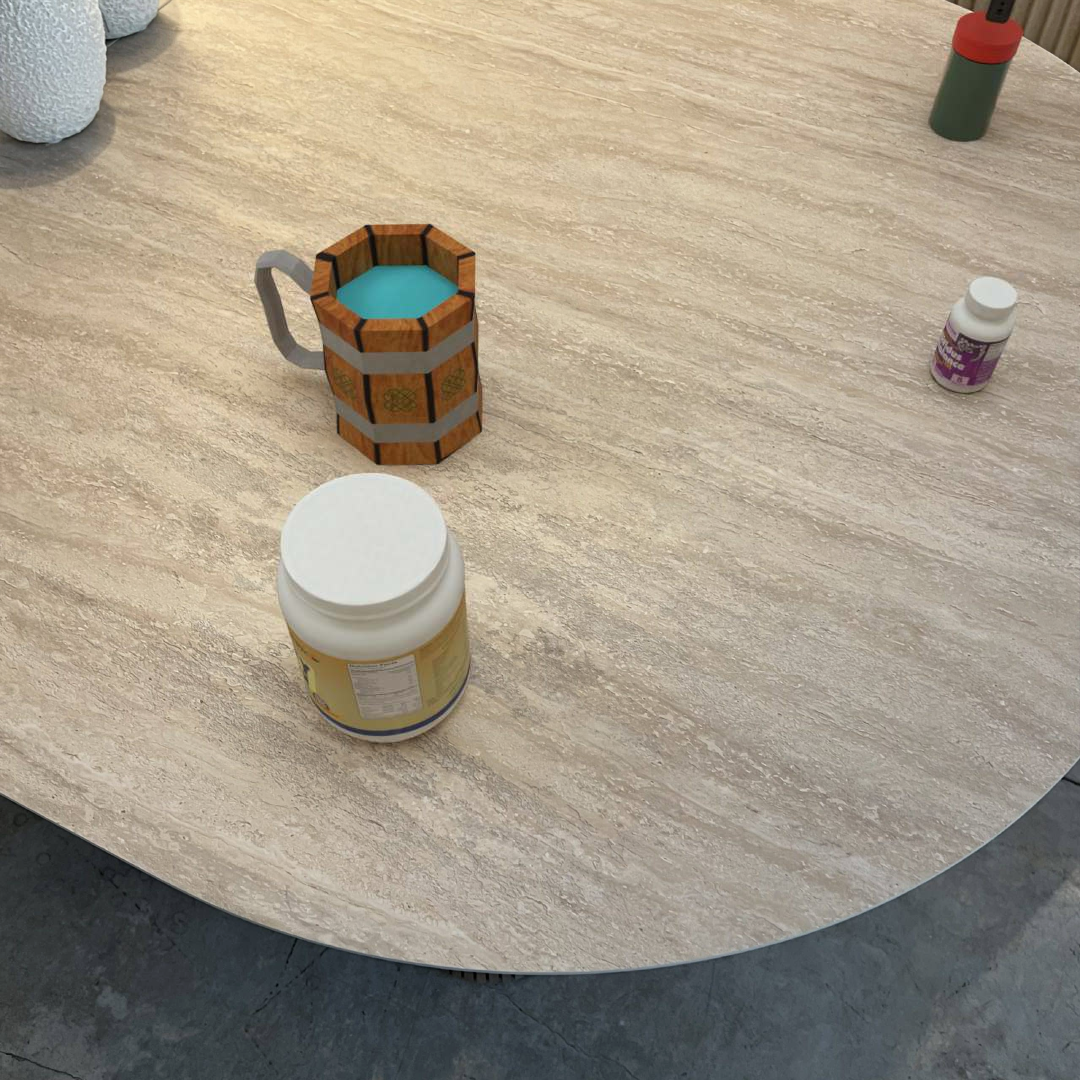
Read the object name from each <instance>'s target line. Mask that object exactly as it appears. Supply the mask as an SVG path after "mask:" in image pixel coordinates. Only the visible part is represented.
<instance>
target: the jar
mask: <svg viewBox="0 0 1080 1080" xmlns="http://www.w3.org/2000/svg"><path fill="white" fill-rule="evenodd" d="M1013 60H1014V57H1013V58H1012V59H1010V60H1008V61H1005V62H1001V63H982V62H977V61H973V60H970V59H968V58H966V57H964V56H962V55H960V54H959V53H958V52H957V51H956V50H955V49H954V48H953V46H952V45H950V49H949V51H948V56H947V59H946V62H945V66H944V68H943V71H942V74H941V78H940V82H939V84H938V87H937V91H936V93H935V98H934V101H933V104H932V107H931V110H930V114H929V117H928V125H929V127H930V129H931V130H932V131H933V132H934V133H936V134H937V135H939V136H941V137H943V138H945V139H948V140H950V141H951V140H952V141H955V142H972V141H977V140H979V139H981V138H983V137H984V136H985V135H986V134H987V132H988V130H989V126H990V125H991V121H992V118H993V115H994V113H995V110H996V107H997V104H998V102H999V100H1000V96H1001V94H1002V91H1003V88H1004V85H1005V83H1006V79H1007V77H1008V74H1009V71H1010V69H1011V65H1012V63H1013Z"/></svg>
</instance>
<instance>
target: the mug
mask: <svg viewBox="0 0 1080 1080" xmlns="http://www.w3.org/2000/svg"><path fill="white" fill-rule="evenodd" d="M313 266H314V267H313V269H312V268H311V267H310V266H309V265H308V264H307V263H306V262H305V261H304V260H302V258H300V257H299V256H296V255H295V254H293V253H291V252H290V251H288V250H286V249H284V248H281V249H275V250H268V251H264V252H263V253H262V254H260V255H259V257H258V258H257V261H256V263H255V270H254V279H253V282H254V285H255V288H256V291H257V293H258V296H259V299H260V302H261V304H262V308H263V311H264V315H265V319H266V323H267V326H268V329H269V332H270V335H271V339H272V342H273V344H274V345H275V346H276V348H277V349H278V351H279V353H280V354H281V355H282V356H283V358H284V359H285V360H286V361H288V362H289V363H291V364H292V365H295V366H296V367H298V368H300V369H306V370H317V371H324V373H325V375H326V378H327V381H328V385H329V387H330V390H331V393H332V397H333V403H334V408H335V412H336V434H337V435H338V436H339V437H340V438H342V439H343V440H344V441H346V442H347V443H348V444H350V445H351V446H352V447H354V448H355V449H356V450H357V451H359V452H360V453H361V454H362V455H364V456H365V457H366V458H368V459H369V460H370V461H372V462H373V463H374V464H375V465H376V466H385V465H386V466H388V465H389V466H392V465H394V466H395V465H397V466H398V465H440V463H442V462H443V461H445V460H446V459H447V458H448V457H450V456H451V455H452V454H454V453H455V452H457V451H458V450H459V449H460V448H462V447H463V446H464V445H466V444H467V443H469V442H470V441H471V440H472V439H474V438H476V437H477V435H479V434H480V433H482V432H483V386H482V385H483V384H482V379H481V376H480V371H479V319H478V314H477V313H478V312H477V307H476V301H475V300H476V252H475V251H474V250H472V249H471V248H469V247H468V246H466V245H465V244H463V243H461V242H459V241H458V240H457V239H455V238H453V237H452V236H450V235H449V234H447V233H446V232H444V231H443V230H441V229H439V228H438V227H436V226H434V225H433V224H431V223H401V224H400V223H396V224H395V223H392V224H391V223H390V224H389V223H388V224H382V223H381V224H364V225H363V226H361V227H360V228H358V229H356V230H354V231H353V232H350V233H349V234H348V235H346V236H345V237H343V238H341V239H339V240H338V241H336V242H334V243H333V244H331V245H329V246H328V247H326V248H324V249H322V250H321V251H320V252H317V253H316V254H315V259H314V265H313ZM272 269H276V270H277V271H280V272H281V273H284V274H285V275H286V276H288V277H289V278H290V279H291V280H292V281H293V282H294V283H295V284H296V285H297V286H298V287H299V288H300V289H301V290H303V291H304V292H305V293H306V294H307V295H309V300H310V302H311V306H312V308H313V311H314V314H315V317H316V319H317V322H318V327H319V332H320V338H321V342H322V350H315V351H314V350H313V351H311V350H309V349H307V348H306V347H304V346H302V345H301V344H299V343H298V342H297V341H296V340H295V338H294V336H293V335H292V332H291V331H290V330H289V325H288V322H287V318H286V314H285V310H284V305H283V302H282V301H283V300H282V297H281V295H280V293H279V290H278V287H277V285H276V284H277V283H276V282H275V279H274V276H273V273H272V271H273V270H272Z"/></svg>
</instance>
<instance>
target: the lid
mask: <svg viewBox="0 0 1080 1080" xmlns="http://www.w3.org/2000/svg"><path fill="white" fill-rule="evenodd" d="M986 12H987V11H973V12H969V13H966V14H964V15H962V16H961V17H960V18H958V20H957V23H956V26H955V29H954V33H953V35H952V38H951V46H953V48H954V49H955V50H956V51H957V52H958V53H959V54H960V55H962V56H964V57H966V58H968V59H970V60H973V61H977V62H982V63H1001V62H1005V61H1008V60H1010V59H1012V58H1013V59H1014V57H1015V56H1016V55H1017V52H1018V50H1019V47H1020V44H1021V41H1022V38H1023V35H1024V30H1023V27H1022V26H1021V25H1020V24H1019V23H1018V22H1017V21H1016V20H1014V19H1013V18H1011V17H1009V20H1008V21H1007V22H1006V23H1004V24H1001V23H995V22H989V21H987V20H986V18H985V17H986Z"/></svg>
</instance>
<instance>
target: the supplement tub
mask: <svg viewBox="0 0 1080 1080" xmlns="http://www.w3.org/2000/svg"><path fill="white" fill-rule="evenodd" d="M279 548H280V555H281V557H280V560H279V562H278V567H277V573H276V593H277V600H278V605H279V608H280V610H281V613H282V615H283V618H284V621H285V624H286V628H287V630H288V633H289V637H290V640H291V643H292V646H293V649H294V652H295V655H296V659H297V663H298V665H299V669H300V672H301V676H302V679H303V682H304V683H303V684H304V687H305V691H306V694H307V697H308V699H309V700H310V702H311V704H312V706H313V707H314V708H315V710H316V712H318V713H319V715H320V716H321V717H322V718H324V720H326V722H327V723H329V724H330V725H331V726H333V727H334V728H335V729H336V730H338V731H340V732H341V733H344V734H346V735H348V736H350V737H353V738H355V739H359V740H363V741H368V742H373V743H374V742H375V743H396V742H401V741H405V740H408V739H412V738H415V737H417V736H419V735H422V734H424V733H426V732H427V731H429V730H431V729H433V728H434V727H436V726H437V725H438V724H439V723H441V722H442V721H443V720H444V719H445V718H447V716H448V715H450V713H451V712H452V711H453V710H454V709H455V707H456V706H457V705H458V703H459V702H460V701H461V699H462V697H463V695H464V693H465V691H466V689H467V685H468V683H469V680H470V676H471V671H472V650H471V646H470V645H471V644H470V636H469V635H470V634H469V622H468V610H467V598H466V597H467V596H466V584H465V583H466V567H465V561H464V557H463V553H462V551H461V547H460V545H459V543H458V541H457V539H456V537H455V535H454V533H453V532H452V530H451V529H450V528H449V527H448V525H447V523H446V519H445V516H444V513H443V512H442V509H441V507H440V506H439V504H438V503H437V502H436V500H435V499H434V498H433V497H432V495H431V494H429V493H428V491H426V490H425V489H423V488H422V487H420V486H419V485H418V484H416V483H414V482H412V481H410V480H408V479H405V478H402V477H400V476H397V475H393V474H387V473H381V472H361V473H360V472H359V473H353V474H348V475H343V476H339V477H337V478H333V479H331V480H329V481H327V482H324V483H322V484H321V485H319V486H316V488H314V489H312V490H311V491H310V492H308V493H307V494H306V495H304V496H303V498H301V499H300V500H299V501H298V502H297V503H296V504H295V506H294V507H293V508H292V510H291V511H290V512H289V514H288V516H287V518H286V520H285V521H284V524H283V527H282V530H281V534H280V541H279Z"/></svg>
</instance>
